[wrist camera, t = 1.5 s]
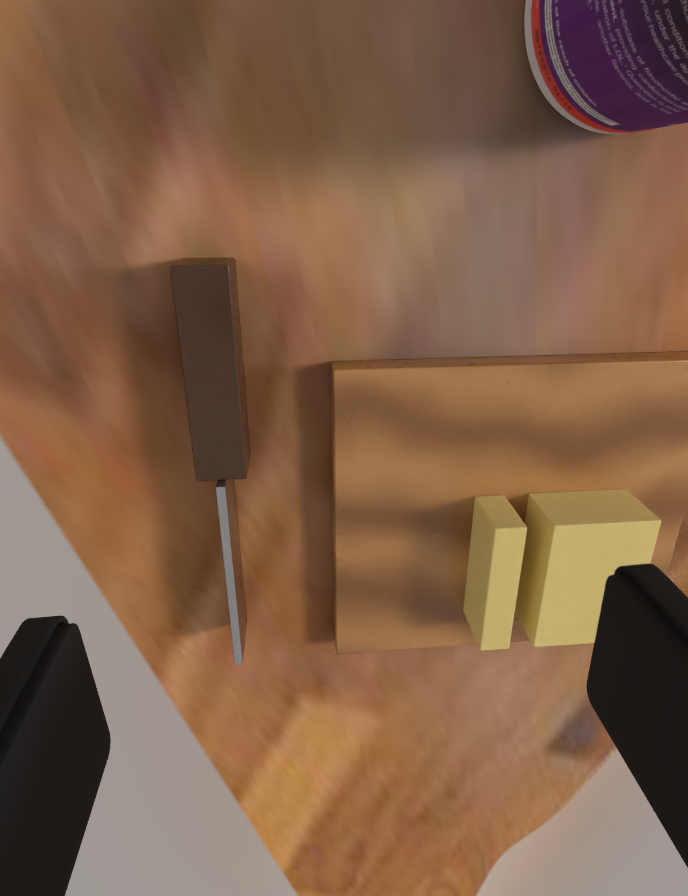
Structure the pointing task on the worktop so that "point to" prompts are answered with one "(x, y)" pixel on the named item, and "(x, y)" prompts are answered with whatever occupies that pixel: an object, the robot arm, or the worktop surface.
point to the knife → (216, 402)
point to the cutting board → (483, 471)
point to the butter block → (577, 559)
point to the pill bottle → (611, 61)
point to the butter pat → (493, 571)
